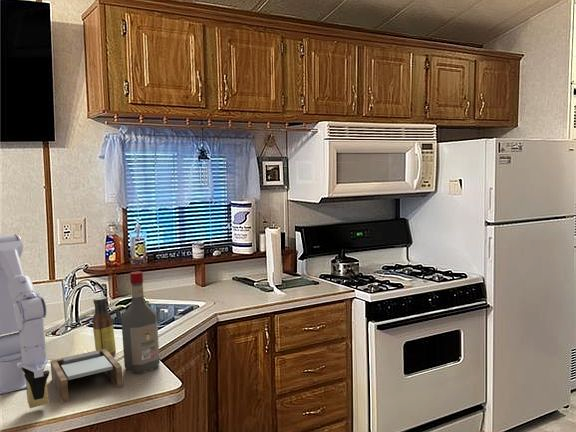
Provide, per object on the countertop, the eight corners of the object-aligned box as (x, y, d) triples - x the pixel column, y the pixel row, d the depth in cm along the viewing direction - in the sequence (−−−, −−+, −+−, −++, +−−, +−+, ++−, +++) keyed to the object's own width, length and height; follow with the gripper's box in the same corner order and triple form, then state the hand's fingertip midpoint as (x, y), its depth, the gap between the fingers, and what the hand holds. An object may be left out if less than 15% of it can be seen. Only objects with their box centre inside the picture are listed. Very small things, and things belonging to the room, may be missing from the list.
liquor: (163, 366, 163) (157, 271, 160) (136, 375, 156) (129, 277, 153) (148, 359, 169) (142, 268, 166) (121, 368, 163) (115, 273, 160)
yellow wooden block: (27, 402, 137) (25, 376, 136) (46, 397, 139) (43, 372, 138) (29, 408, 133) (27, 382, 132) (48, 403, 135) (46, 377, 135)
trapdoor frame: (51, 380, 155) (50, 360, 155) (107, 367, 164) (105, 348, 163) (62, 402, 140) (61, 380, 140) (123, 386, 149) (121, 366, 148)
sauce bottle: (118, 352, 177) (114, 295, 174) (112, 359, 170) (108, 299, 168) (98, 353, 176) (94, 295, 174) (92, 360, 170) (88, 300, 168)
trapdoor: (59, 367, 154) (58, 358, 154) (101, 358, 160) (100, 349, 160) (68, 383, 143) (67, 373, 142) (113, 372, 149) (112, 363, 149)
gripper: (12, 340, 138) (17, 389, 140) (18, 356, 126) (23, 410, 128) (41, 334, 142) (45, 382, 143) (50, 349, 130) (54, 402, 131)
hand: (37, 395), depth 136 cm, fingers closed on yellow wooden block, 4 cm apart
